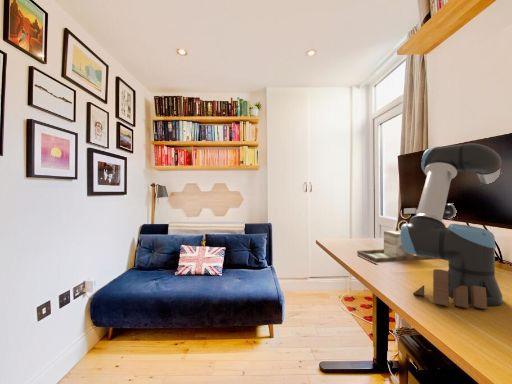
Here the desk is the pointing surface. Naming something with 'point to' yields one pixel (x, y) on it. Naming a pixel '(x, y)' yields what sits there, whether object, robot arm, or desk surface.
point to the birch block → (394, 244)
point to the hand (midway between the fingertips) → (410, 211)
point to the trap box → (384, 256)
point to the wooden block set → (454, 292)
